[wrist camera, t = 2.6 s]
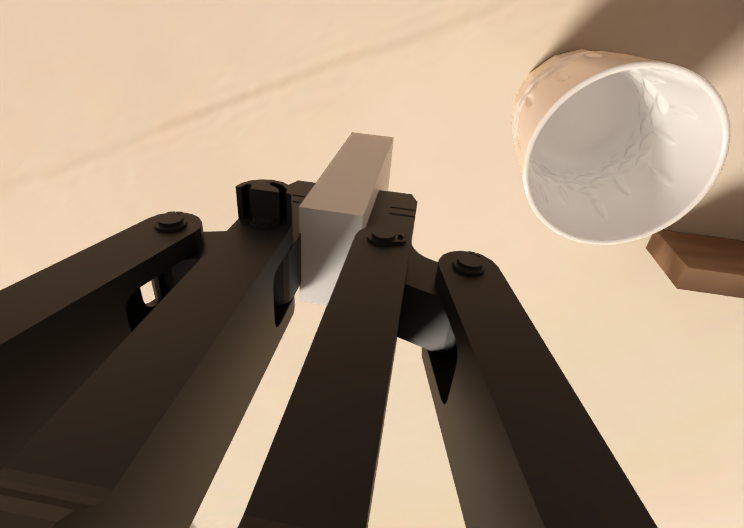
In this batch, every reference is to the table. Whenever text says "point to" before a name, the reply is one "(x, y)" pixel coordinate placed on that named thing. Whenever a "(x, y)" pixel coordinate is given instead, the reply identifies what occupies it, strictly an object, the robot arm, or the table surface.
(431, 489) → the table surface
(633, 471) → the table surface
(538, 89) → the white cup
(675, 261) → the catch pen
